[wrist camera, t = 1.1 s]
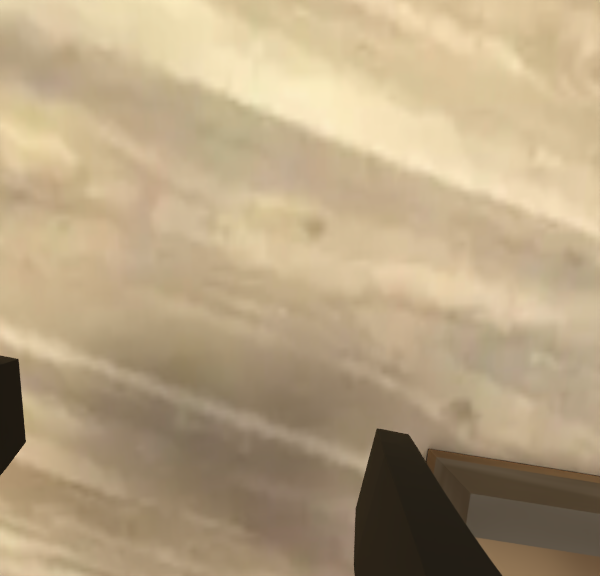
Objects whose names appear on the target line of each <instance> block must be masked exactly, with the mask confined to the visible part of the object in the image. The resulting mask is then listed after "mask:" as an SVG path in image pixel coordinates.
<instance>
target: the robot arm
mask: <svg viewBox="0 0 600 576" xmlns="http://www.w3.org/2000/svg"><path fill="white" fill-rule="evenodd" d="M25 442H26V439H25V428H24V416H23V405H22V394H21V382H20V371H19V360H18V359H15V358H10V357H5V356H0V475H1V474H2V473H3V472H4V470H5V469H6V468H7V467H8V465H9V464H10V463H11V461H12V460H13V458H14V457H15V456H16V454H17V453H18V452H19V450H20V449H21V448H22V446H23V445H24V444H25ZM354 572H355V576H502V574H501V573H500V572H499V570H498V569H497V568H496V566H495V565H494V564H493V562H492V561H491V559H490V558H489V557H488V555H487V554H486V552H485V551H484V550H483V548H482V547H481V545H480V544H479V542H478V541H477V539H476V538H475V537H474V535H473V534H472V532H471V531H470V529H469V528H468V526H467V525H466V523H465V522H464V520H463V519H462V517H461V516H460V514H459V513H458V512H457V510H456V509H455V507H454V505H453V504H452V502H451V501H450V499H449V498H448V496H447V495H446V493H445V492H444V490H443V488H442V487H441V485H440V484H439V482H438V481H437V479H436V477H435V476H434V474H433V473H432V471H431V469H430V468H429V466H428V465H427V463H426V461H425V460H424V458H423V456H422V455H421V453H420V452H419V450H418V448H417V447H416V445H415V444H414V442H413V440H412V439H411V437H410V436H409V435H408V434H403V433H398V432H393V431H388V430H383V429H377V430H376V434H375V438H374V441H373V445H372V449H371V453H370V457H369V460H368V464H367V468H366V472H365V476H364V479H363V483H362V487H361V491H360V495H359V498H358V502H357V506H356V517H355V545H354Z"/></svg>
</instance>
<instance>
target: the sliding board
mask: <svg viewBox="0 0 600 576" xmlns="http://www.w3.org/2000/svg"><path fill="white" fill-rule="evenodd" d="M426 463H427V465H428V466H429V468H430V469H431V471H432V473H433V474H434V476H435V477H436V479H437V481H438V482H439V484H440V485H441V487H442V488H443V490H444V492H445V493H446V495H447V496H448V498H449V499H450V501H451V502H452V504H453V505H454V507H455V509H456V510H457V512H458V513H459V514H460V516H461V517H462V519H463V520H464V522H465V523H466V525H467V526H468V528H469V529H470V531H471V532H472V534H473V535H474V537H475V538H476V539H477V541H478V542H479V544H480V545H481V547H482V548H483V550H484V551H485V552H486V554H487V555H488V557H489V558H490V559H491V561H492V562H493V564H494V565H495V566H496V568H497V569H498V570H499V572H500V573H501V574H502V576H600V476H593V475H587V474H581V473H575V472H569V471H562V470H556V469H550V468H544V467H538V466H531V465H525V464H519V463H513V462H507V461H500V460H494V459H488V458H482V457H476V456H469V455H463V454H457V453H451V452H445V451H438V450H432V449H429V450H428V456H427V462H426Z"/></svg>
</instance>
